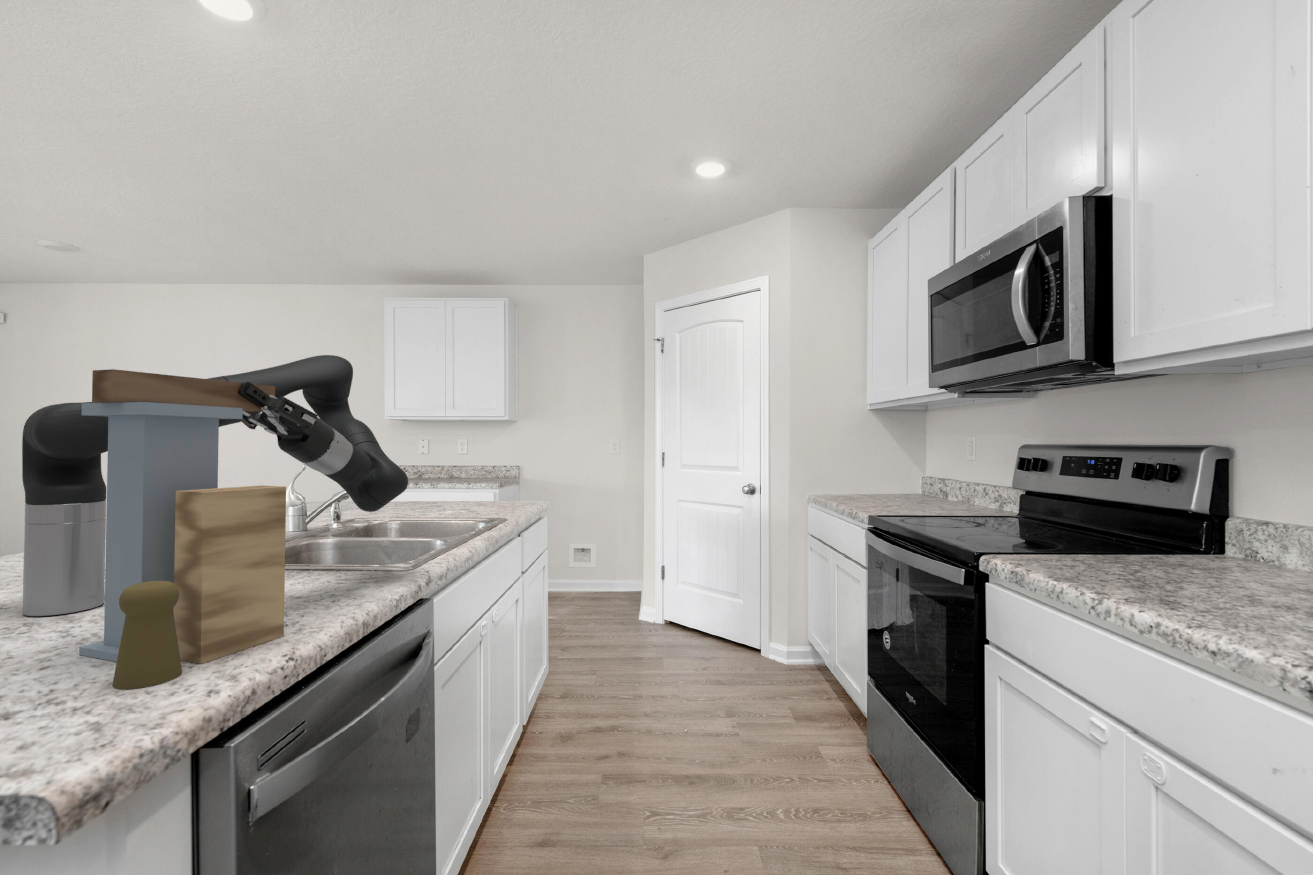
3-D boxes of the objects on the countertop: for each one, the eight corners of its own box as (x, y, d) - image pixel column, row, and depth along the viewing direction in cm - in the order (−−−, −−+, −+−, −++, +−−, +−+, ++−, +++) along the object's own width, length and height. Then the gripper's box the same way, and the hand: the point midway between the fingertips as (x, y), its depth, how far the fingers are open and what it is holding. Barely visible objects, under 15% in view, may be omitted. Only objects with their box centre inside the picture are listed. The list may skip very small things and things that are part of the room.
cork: (141, 691, 63) (143, 590, 63) (97, 686, 64) (99, 587, 64) (195, 670, 69) (197, 577, 69) (154, 666, 70) (156, 575, 70)
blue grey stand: (76, 654, 74) (81, 403, 74) (179, 626, 85) (183, 409, 86) (139, 666, 70) (144, 402, 70) (238, 635, 81) (242, 408, 82)
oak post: (172, 658, 73) (175, 491, 73) (257, 632, 83) (260, 485, 83) (200, 663, 71) (203, 492, 71) (283, 635, 81) (286, 486, 82)
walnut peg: (91, 402, 72) (92, 370, 72) (256, 412, 92) (256, 386, 92) (113, 401, 71) (113, 369, 71) (274, 411, 91) (275, 386, 91)
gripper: (296, 426, 104) (210, 368, 90) (358, 426, 100) (278, 365, 86) (275, 463, 101) (183, 408, 87) (339, 464, 96) (252, 407, 82)
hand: (231, 387), depth 86 cm, fingers closed on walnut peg, 4 cm apart
